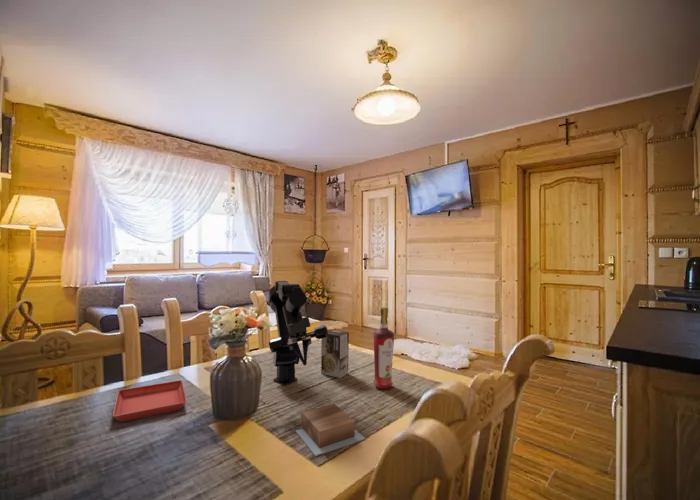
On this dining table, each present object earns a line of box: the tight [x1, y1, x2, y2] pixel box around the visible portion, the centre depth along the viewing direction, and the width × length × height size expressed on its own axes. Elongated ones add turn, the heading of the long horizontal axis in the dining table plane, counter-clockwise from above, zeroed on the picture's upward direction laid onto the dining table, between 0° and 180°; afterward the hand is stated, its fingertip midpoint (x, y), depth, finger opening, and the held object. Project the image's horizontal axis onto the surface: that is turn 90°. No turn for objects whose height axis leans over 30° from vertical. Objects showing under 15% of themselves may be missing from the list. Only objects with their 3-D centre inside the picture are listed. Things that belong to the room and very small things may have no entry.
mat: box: [295, 428, 366, 457], centre depth 86 cm, size 12×14×1 cm
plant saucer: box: [112, 379, 187, 423], centre depth 101 cm, size 18×18×3 cm
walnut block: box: [301, 403, 356, 448], centre depth 87 cm, size 4×10×11 cm
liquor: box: [372, 306, 395, 390], centre depth 117 cm, size 7×7×28 cm
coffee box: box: [320, 329, 350, 379], centre depth 129 cm, size 9×6×16 cm
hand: (305, 365), depth 104 cm, fingers closed
